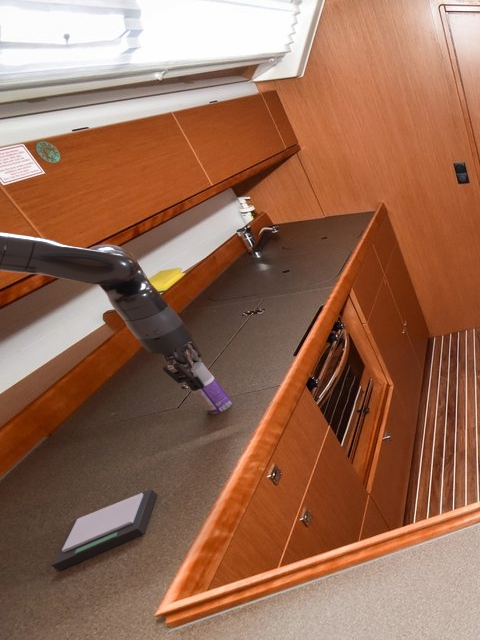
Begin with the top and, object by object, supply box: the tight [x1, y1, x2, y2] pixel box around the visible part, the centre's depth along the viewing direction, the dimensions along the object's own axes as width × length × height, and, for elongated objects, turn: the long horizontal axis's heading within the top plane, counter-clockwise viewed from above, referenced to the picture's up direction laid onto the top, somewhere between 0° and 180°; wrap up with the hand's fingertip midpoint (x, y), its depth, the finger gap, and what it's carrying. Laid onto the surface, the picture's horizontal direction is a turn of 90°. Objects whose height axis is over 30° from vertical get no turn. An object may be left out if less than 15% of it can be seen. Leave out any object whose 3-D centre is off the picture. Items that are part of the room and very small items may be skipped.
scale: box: [51, 488, 158, 572], centre depth 80 cm, size 11×10×3 cm
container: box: [184, 362, 233, 415], centre depth 102 cm, size 5×5×15 cm
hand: (201, 382), depth 101 cm, fingers closed on container, 4 cm apart
